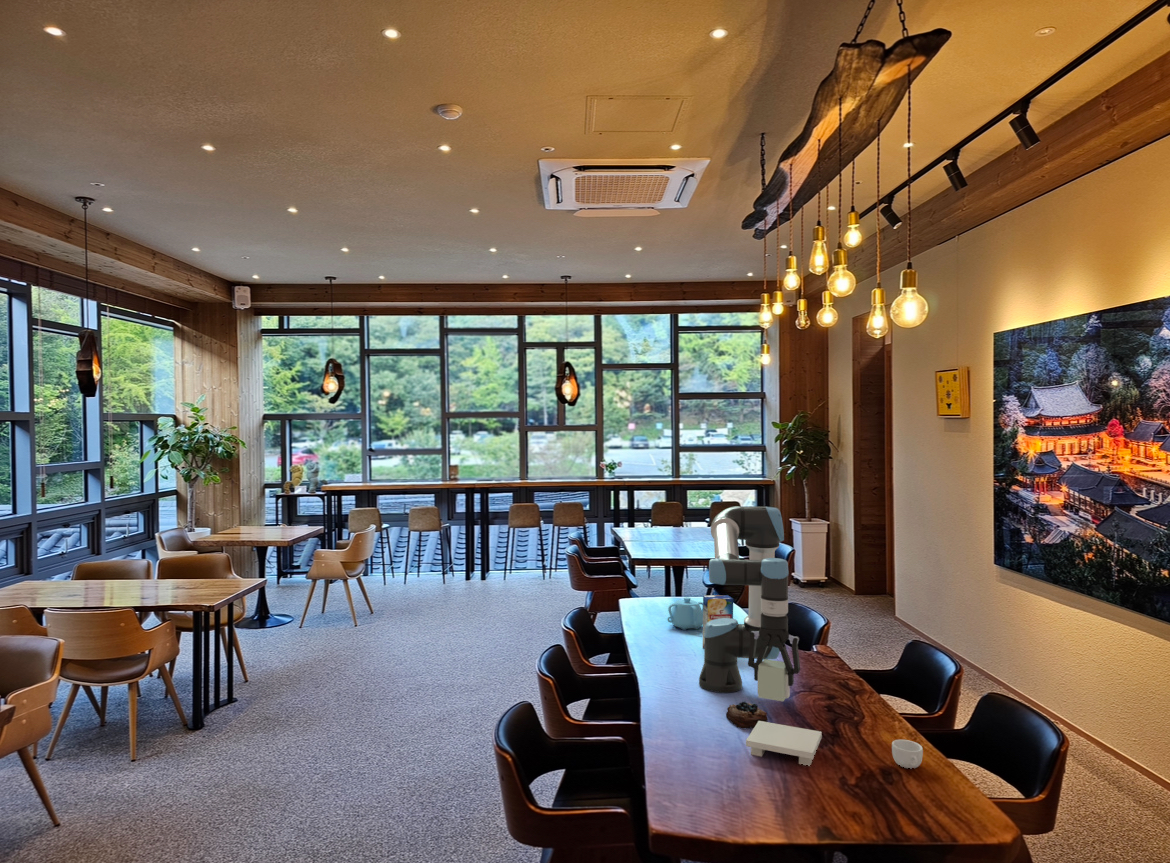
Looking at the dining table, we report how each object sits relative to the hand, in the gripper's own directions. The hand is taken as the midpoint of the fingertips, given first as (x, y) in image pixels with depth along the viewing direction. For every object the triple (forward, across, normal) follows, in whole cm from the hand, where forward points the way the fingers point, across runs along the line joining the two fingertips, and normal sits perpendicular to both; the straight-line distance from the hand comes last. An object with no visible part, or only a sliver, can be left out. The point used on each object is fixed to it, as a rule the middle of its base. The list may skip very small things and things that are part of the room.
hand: (773, 694), depth 210 cm
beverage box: (+15, -43, +88) cm, 99 cm away
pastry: (+16, -12, +18) cm, 27 cm away
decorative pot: (+14, -67, +118) cm, 136 cm away
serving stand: (+16, +3, 0) cm, 16 cm away
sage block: (0, 0, 0) cm, 0 cm away
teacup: (+16, +35, +7) cm, 39 cm away
